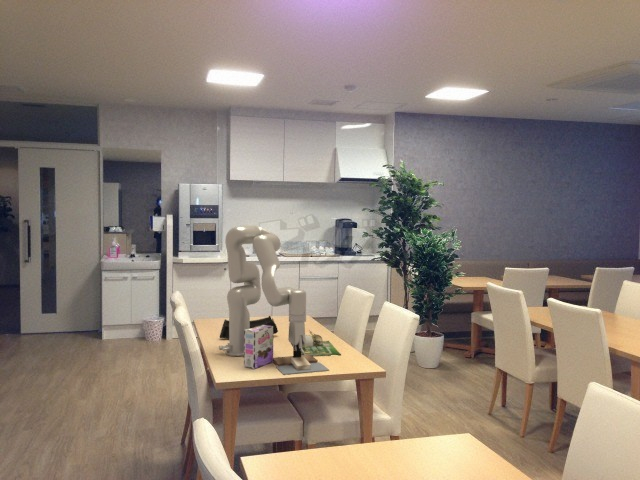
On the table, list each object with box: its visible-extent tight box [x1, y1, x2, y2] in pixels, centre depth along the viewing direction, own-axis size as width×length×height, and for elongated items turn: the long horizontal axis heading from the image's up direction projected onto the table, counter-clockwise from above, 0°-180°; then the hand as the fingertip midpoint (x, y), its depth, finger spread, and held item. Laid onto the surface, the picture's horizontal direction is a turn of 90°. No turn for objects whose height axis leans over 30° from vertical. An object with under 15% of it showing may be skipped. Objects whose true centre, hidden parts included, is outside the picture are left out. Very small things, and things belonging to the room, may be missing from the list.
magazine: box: [219, 315, 279, 340], centre depth 297 cm, size 17×3×30 cm
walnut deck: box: [272, 355, 319, 366], centre depth 250 cm, size 18×10×2 cm, turn 110°
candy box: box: [243, 325, 274, 370], centre depth 246 cm, size 14×6×16 cm, turn 148°
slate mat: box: [275, 361, 330, 376], centre depth 240 cm, size 20×12×1 cm, turn 110°
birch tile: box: [291, 357, 311, 370], centre depth 241 cm, size 6×9×2 cm, turn 20°
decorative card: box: [290, 329, 342, 357], centre depth 277 cm, size 33×8×20 cm
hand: (297, 359), depth 247 cm, fingers closed
